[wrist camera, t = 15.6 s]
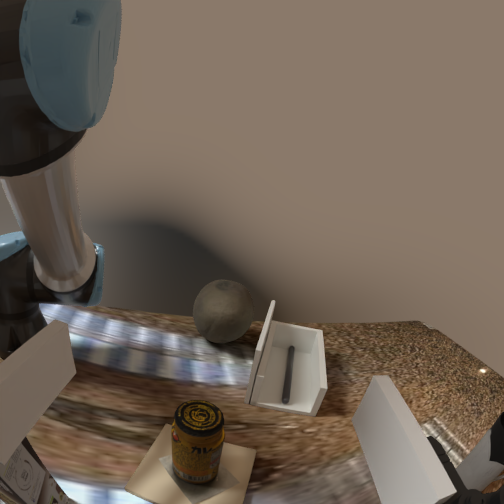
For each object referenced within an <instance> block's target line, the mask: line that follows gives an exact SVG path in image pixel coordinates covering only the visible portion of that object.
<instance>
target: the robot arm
mask: <svg viewBox="0 0 504 504" xmlns="http://www.w3.org/2000/svg"><path fill="white" fill-rule="evenodd" d="M120 31H121V0H0V181H1V184H2V186H3V189H4V191H5V194H6V196H7V199H8V201H9V203H10V206H11V208H12V211H13V213H14V215H15V217H16V219H17V222H18V224H19V226H20V227H21V230H22V231H20V232H14V233H9V234H4V235H1V236H0V357H1V358H3V359H5V360H4V361H3V362H2V363H0V462H1V463H2V464H3V465H5V464H6V463H7V461H8V460H9V458H10V457H11V456H12V454H13V453H14V451H15V450H16V449H17V447H18V446H19V445H20V443H21V442H22V440H23V439H24V438H25V436H26V435H27V434H28V432H29V431H30V430H31V429H32V427H33V426H34V425H35V423H36V422H37V421H38V419H39V418H40V417H41V416H42V414H43V413H44V412H45V411H46V409H47V408H48V407H49V406H50V404H51V403H52V402H53V401H54V399H55V398H56V397H57V396H58V394H59V393H60V392H61V391H62V390H63V388H64V387H65V386H66V385H67V384H68V382H69V381H70V380H71V379H72V378H73V376H74V375H75V374H76V368H75V364H74V359H73V354H72V348H71V342H70V336H69V330H68V324H66V323H63V322H61V321H58V320H54V321H52V322H51V323H50V324H47V322H46V320H45V318H44V316H43V314H42V312H41V310H40V308H39V303H45V304H59V305H75V306H84V307H87V306H96V305H98V304H99V303H100V301H101V298H102V285H103V275H104V247H103V246H102V245H99V244H96V243H92V242H91V240H90V238H89V237H88V236H87V235H86V234H85V233H84V232H83V229H82V223H81V217H80V209H79V200H78V191H77V180H76V167H75V148H76V147H77V146H78V145H79V144H80V142H81V141H82V139H83V138H84V137H85V135H86V133H87V131H88V128H91V127H93V126H95V125H96V124H97V123H98V122H99V121H100V120H101V118H102V116H103V114H104V112H105V109H106V106H107V103H108V100H109V96H110V92H111V88H112V83H113V76H114V67H115V65H116V61H117V55H118V48H119V40H120ZM352 422H353V425H354V428H355V430H356V433H357V436H358V438H359V441H360V444H361V447H362V449H363V452H364V455H365V458H366V460H367V463H368V466H369V469H370V472H371V475H372V477H373V480H374V483H375V486H376V489H377V492H378V495H379V498H380V501H381V504H504V485H503V486H502V487H501V488H500V489H498V490H497V491H496V492H491V493H486V494H482V493H481V491H479V490H476V489H469V490H468V489H467V488H466V486H465V485H464V483H463V481H462V480H461V478H460V476H459V474H458V472H457V471H456V469H455V467H454V466H453V464H452V462H450V459H449V457H448V455H446V452H445V450H444V449H443V447H442V445H441V444H440V443H439V442H438V441H437V440H436V439H434V438H433V437H432V436H429V437H426V436H425V434H424V432H423V431H422V429H421V427H420V426H419V424H418V422H417V421H416V419H415V417H414V416H413V414H412V412H411V411H410V409H409V407H408V406H407V404H406V403H405V401H404V399H403V398H402V396H401V395H400V393H399V391H398V390H397V388H396V387H395V385H394V384H393V382H392V380H391V379H390V377H389V376H373V378H372V381H371V383H370V385H369V387H368V389H367V391H366V393H365V395H364V397H363V399H362V401H361V403H360V405H359V407H358V409H357V411H356V412H355V414H354V416H353V418H352Z"/></svg>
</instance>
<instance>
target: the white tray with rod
mask: <svg viewBox="0 0 504 504" xmlns="http://www.w3.org/2000/svg"><path fill="white" fill-rule="evenodd" d="M274 305H275V301H274V300H272V302H271V305H270V308H269V311H268V314H267V317H266V320H265V323H264V326H263V329H262V332H261V335H260V338H259V341H258V344H257V347H256V351H255V355H254V360H253V365H252V370H251V374H250V379H249V383H248V388H247V392H246V397H245V401H244V403H246V404H249V401H250V398H251V401H250V405H255V406H259V407H264V408H268V409H273V410H278V411H284V412H289V413H295V414H301V415H308V416H316V414H317V412H318V410H319V407H320V405H321V403H322V400H323V398H324V396H325V393H326V391H327V377H326V365H325V353H324V343H323V333H322V330H318V329H312V328H307V327H302V326H297V325H292V324H287V323H282V322H277V321H273V320H272V323H271V319H272V315H273V310H274ZM270 324H271V326H270ZM269 329H270V330H269ZM268 333H269V334H268ZM252 391H253V392H252ZM251 394H252V397H251Z"/></svg>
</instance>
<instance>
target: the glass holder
mask: <svg viewBox="0 0 504 504" xmlns="http://www.w3.org/2000/svg"><path fill="white" fill-rule="evenodd" d="M503 470H504V412H502V413H501V415H500V416H499V418H498V419H497V421H496V422H495V423H494V425H493V426H492V427H491V428H490V429H489V430H488V431H487V433H486V434H485V435H484V437H483V438H482V439H481V440H480V442H479V443H478V444H477V445H476V446H475V448H474V449H473V450H472V451H471V452H470V454H469V455H468V456H467V457H466V458H465V459H464V460H463V461H462V463H461V464H460V465H459V466H458V467H457V468H456V471H457V472H458V474H459V476H460V478H461V480H462V481H463V483H464V485H465V486H466V488H467V489H468V490H469V489H476V490H479V491H483V490H484V489H485V488H486V487H487V486H488V485H489V484H490V483H491V482H493V481H496V480H499V479H502V478H504V475H501V476H498V475H499V474H500V473H501V472H502V471H503ZM497 476H498V477H497Z"/></svg>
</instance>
